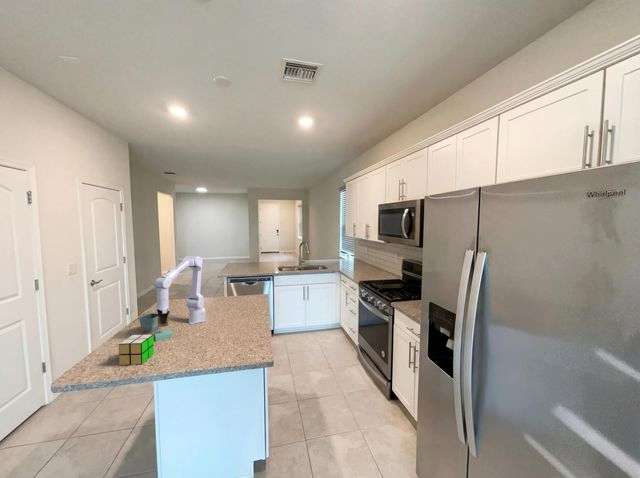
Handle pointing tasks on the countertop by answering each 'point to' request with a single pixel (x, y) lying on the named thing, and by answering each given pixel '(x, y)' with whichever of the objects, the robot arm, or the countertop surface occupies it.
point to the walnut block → (162, 324)
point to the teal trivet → (163, 335)
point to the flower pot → (149, 322)
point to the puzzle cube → (136, 349)
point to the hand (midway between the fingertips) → (163, 322)
